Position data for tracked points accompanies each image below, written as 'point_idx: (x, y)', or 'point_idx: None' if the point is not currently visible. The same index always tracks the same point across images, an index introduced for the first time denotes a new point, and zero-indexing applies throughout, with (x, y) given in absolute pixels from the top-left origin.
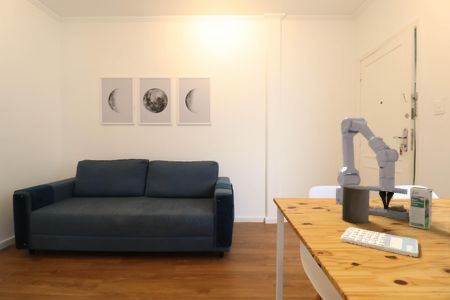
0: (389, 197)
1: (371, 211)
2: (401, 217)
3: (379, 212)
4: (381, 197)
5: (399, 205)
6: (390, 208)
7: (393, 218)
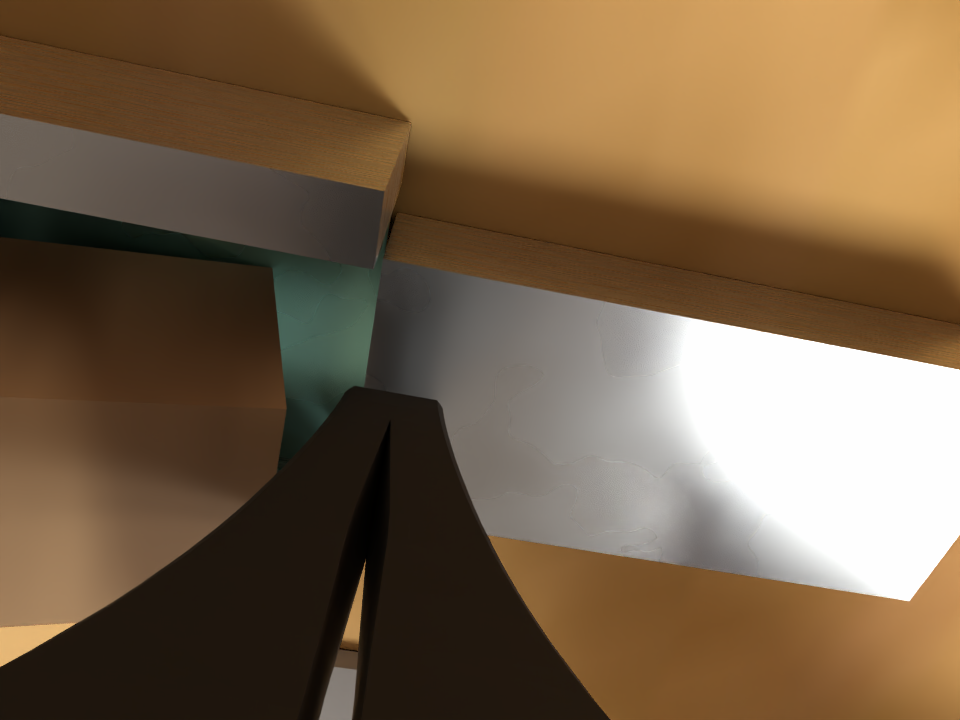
0: (143, 676)
1: (749, 323)
2: (31, 71)
3: (564, 286)
4: (554, 690)
5: (10, 593)
6: (267, 399)
7: (251, 100)
